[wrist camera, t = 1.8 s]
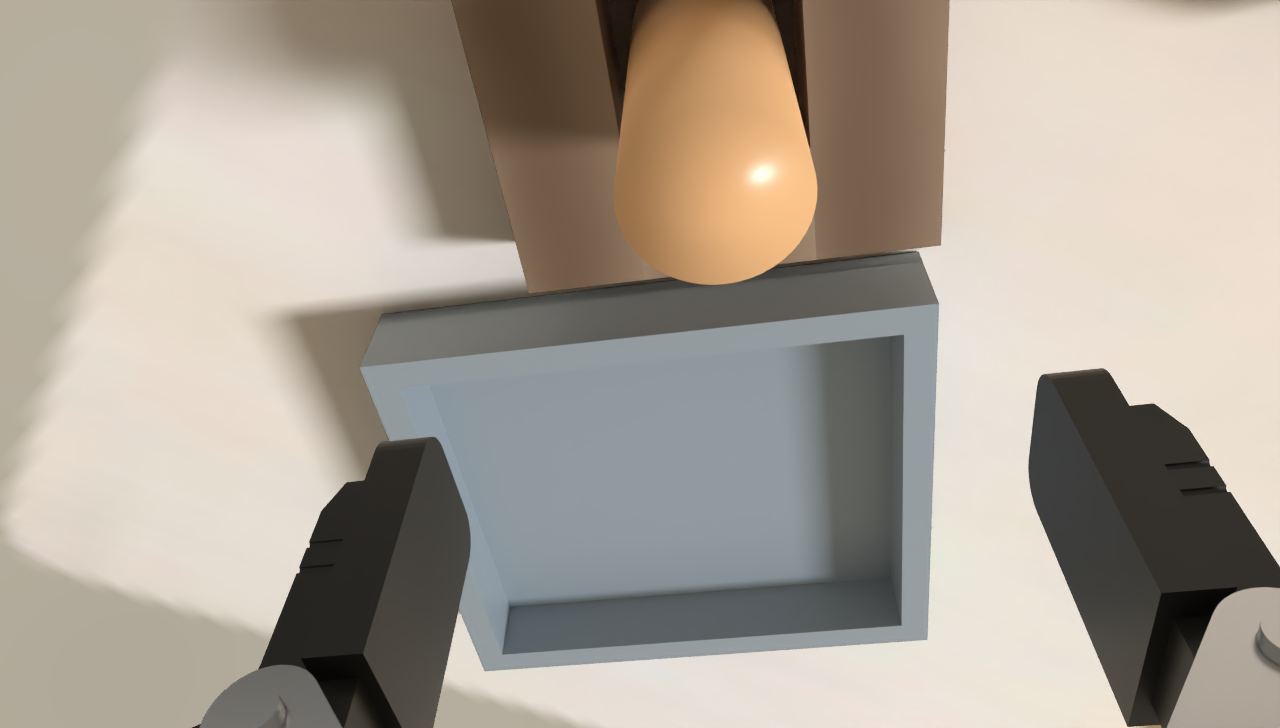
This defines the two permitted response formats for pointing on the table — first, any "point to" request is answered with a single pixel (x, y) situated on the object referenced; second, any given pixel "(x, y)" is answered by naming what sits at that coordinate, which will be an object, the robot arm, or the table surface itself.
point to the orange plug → (711, 142)
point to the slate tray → (682, 460)
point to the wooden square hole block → (592, 114)
